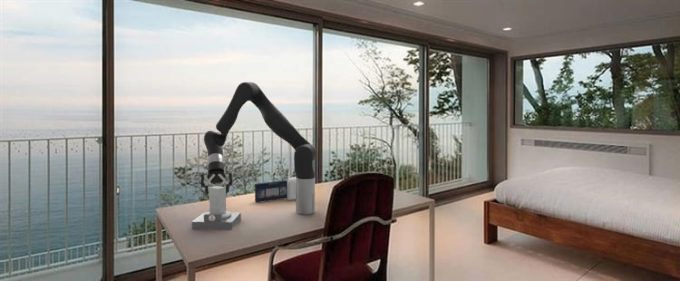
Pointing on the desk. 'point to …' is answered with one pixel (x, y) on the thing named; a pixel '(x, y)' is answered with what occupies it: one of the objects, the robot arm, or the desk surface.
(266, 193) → the vhs cassette tape
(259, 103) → the robot arm
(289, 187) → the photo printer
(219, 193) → the skincare box
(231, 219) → the scale
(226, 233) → the desk surface
